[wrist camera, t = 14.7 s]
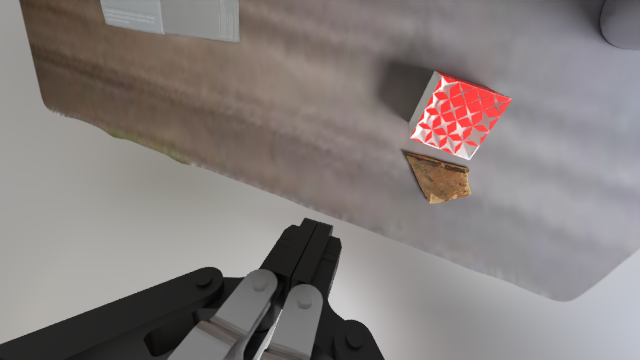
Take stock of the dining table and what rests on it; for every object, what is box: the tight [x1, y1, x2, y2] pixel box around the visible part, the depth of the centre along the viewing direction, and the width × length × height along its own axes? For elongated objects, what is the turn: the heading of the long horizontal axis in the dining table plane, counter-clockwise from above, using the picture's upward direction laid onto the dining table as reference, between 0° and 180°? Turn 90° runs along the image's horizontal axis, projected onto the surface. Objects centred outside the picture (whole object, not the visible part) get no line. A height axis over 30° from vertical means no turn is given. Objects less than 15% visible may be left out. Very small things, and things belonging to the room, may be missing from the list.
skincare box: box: [100, 0, 239, 43], centre depth 32 cm, size 8×7×16 cm
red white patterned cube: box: [409, 71, 512, 160], centre depth 32 cm, size 8×8×8 cm
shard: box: [405, 153, 471, 203], centre depth 40 cm, size 11×8×2 cm
